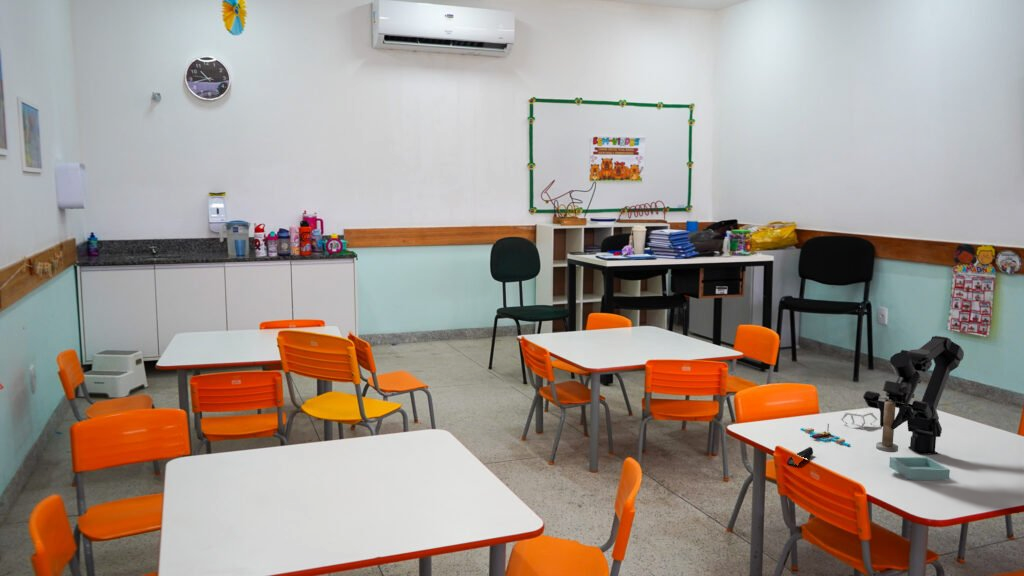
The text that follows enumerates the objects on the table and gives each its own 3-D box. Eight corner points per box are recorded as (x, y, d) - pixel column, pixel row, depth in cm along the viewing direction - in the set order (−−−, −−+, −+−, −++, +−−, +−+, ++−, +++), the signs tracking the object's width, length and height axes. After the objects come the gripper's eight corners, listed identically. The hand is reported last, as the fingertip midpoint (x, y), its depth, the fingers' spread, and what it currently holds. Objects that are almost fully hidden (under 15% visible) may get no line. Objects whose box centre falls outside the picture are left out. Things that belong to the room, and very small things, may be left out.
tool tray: (927, 466, 233) (927, 457, 232) (948, 479, 222) (949, 469, 221) (889, 466, 232) (890, 457, 232) (909, 479, 221) (910, 469, 221)
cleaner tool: (887, 444, 233) (890, 399, 231) (902, 451, 227) (905, 404, 225) (871, 446, 231) (874, 400, 229) (886, 453, 226) (889, 406, 224)
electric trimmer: (816, 457, 241) (816, 447, 241) (797, 468, 230) (798, 458, 230) (804, 454, 244) (805, 445, 244) (785, 465, 233) (786, 455, 233)
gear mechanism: (837, 449, 249) (857, 446, 253) (838, 434, 248) (858, 430, 252) (790, 433, 266) (809, 429, 271) (791, 418, 266) (810, 415, 270)
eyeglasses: (857, 430, 269) (857, 417, 268) (839, 424, 276) (840, 411, 276) (882, 427, 273) (883, 414, 272) (865, 421, 280) (865, 408, 280)
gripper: (867, 365, 236) (848, 405, 230) (930, 376, 221) (911, 420, 216) (878, 385, 242) (859, 425, 236) (939, 398, 227) (921, 440, 222)
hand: (886, 427), depth 227 cm, fingers closed on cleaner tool, 3 cm apart
